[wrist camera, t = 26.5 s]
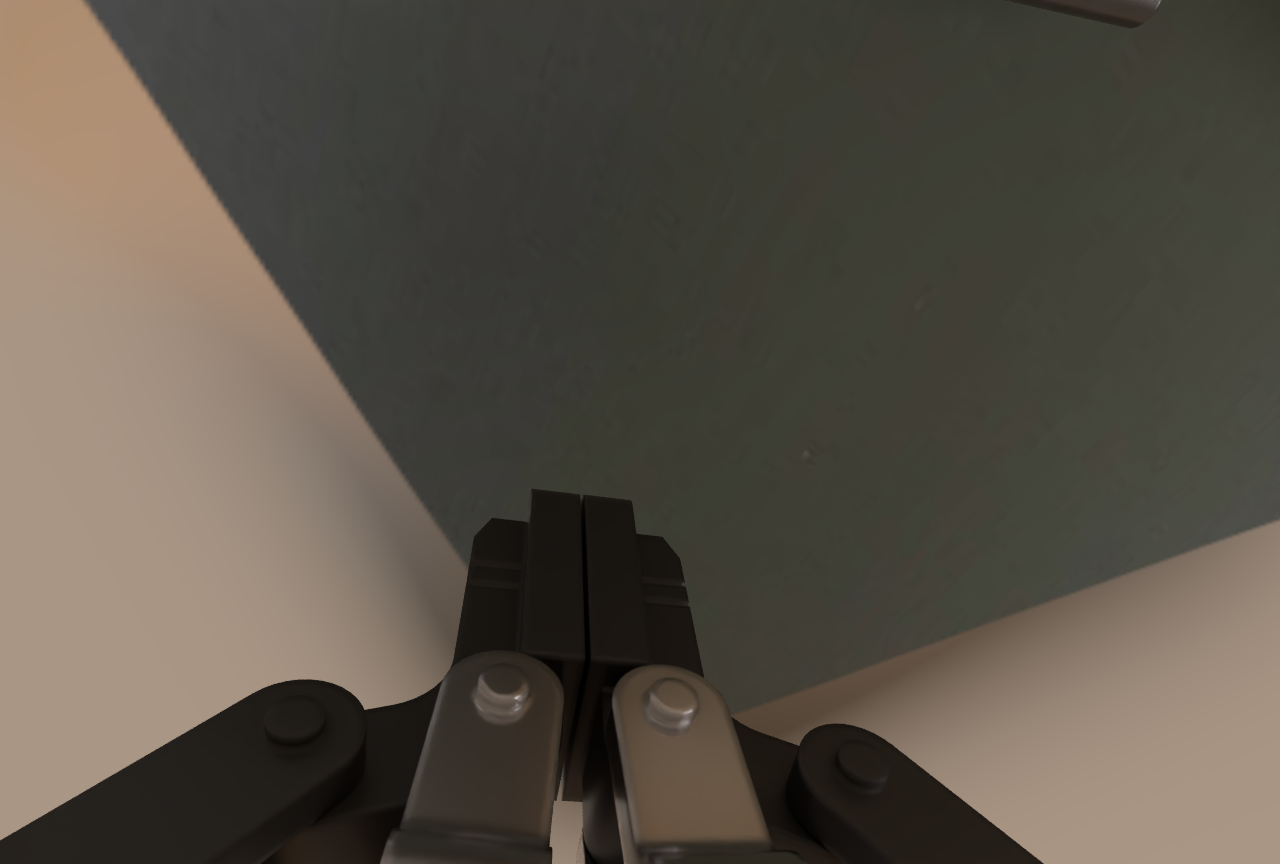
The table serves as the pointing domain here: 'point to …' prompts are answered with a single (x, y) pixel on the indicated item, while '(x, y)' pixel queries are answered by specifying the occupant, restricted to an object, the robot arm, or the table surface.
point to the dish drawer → (1101, 9)
